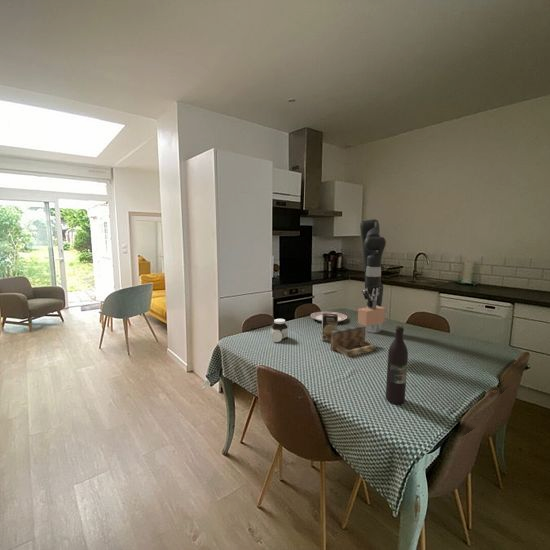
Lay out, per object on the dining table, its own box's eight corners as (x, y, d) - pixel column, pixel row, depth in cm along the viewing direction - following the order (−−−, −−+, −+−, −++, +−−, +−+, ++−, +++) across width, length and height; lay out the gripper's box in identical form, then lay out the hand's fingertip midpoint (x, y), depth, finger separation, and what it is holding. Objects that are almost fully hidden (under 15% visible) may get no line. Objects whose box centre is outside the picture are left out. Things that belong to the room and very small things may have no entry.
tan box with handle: (375, 319, 166) (377, 296, 164) (384, 322, 160) (385, 298, 158) (357, 323, 159) (358, 299, 157) (366, 326, 154) (367, 302, 152)
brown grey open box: (361, 342, 178) (362, 324, 177) (377, 349, 168) (378, 331, 166) (330, 349, 167) (330, 331, 166) (344, 357, 157) (345, 337, 155)
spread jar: (284, 335, 190) (285, 317, 189) (291, 341, 180) (291, 322, 178) (267, 337, 187) (267, 319, 185) (272, 343, 176) (272, 324, 174)
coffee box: (321, 341, 180) (322, 315, 178) (321, 337, 186) (321, 313, 184) (337, 342, 179) (337, 316, 177) (335, 338, 185) (336, 313, 183)
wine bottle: (385, 402, 115) (390, 329, 111) (385, 393, 122) (390, 323, 118) (405, 406, 113) (410, 331, 109) (404, 397, 119) (409, 325, 115)
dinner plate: (309, 314, 240) (309, 310, 239) (343, 314, 239) (343, 310, 238) (312, 324, 213) (312, 320, 212) (350, 325, 212) (350, 321, 211)
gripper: (376, 273, 162) (375, 303, 165) (358, 275, 155) (357, 307, 158) (388, 274, 156) (386, 306, 158) (369, 277, 149) (367, 310, 152)
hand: (371, 306), depth 158 cm, fingers closed on tan box with handle
